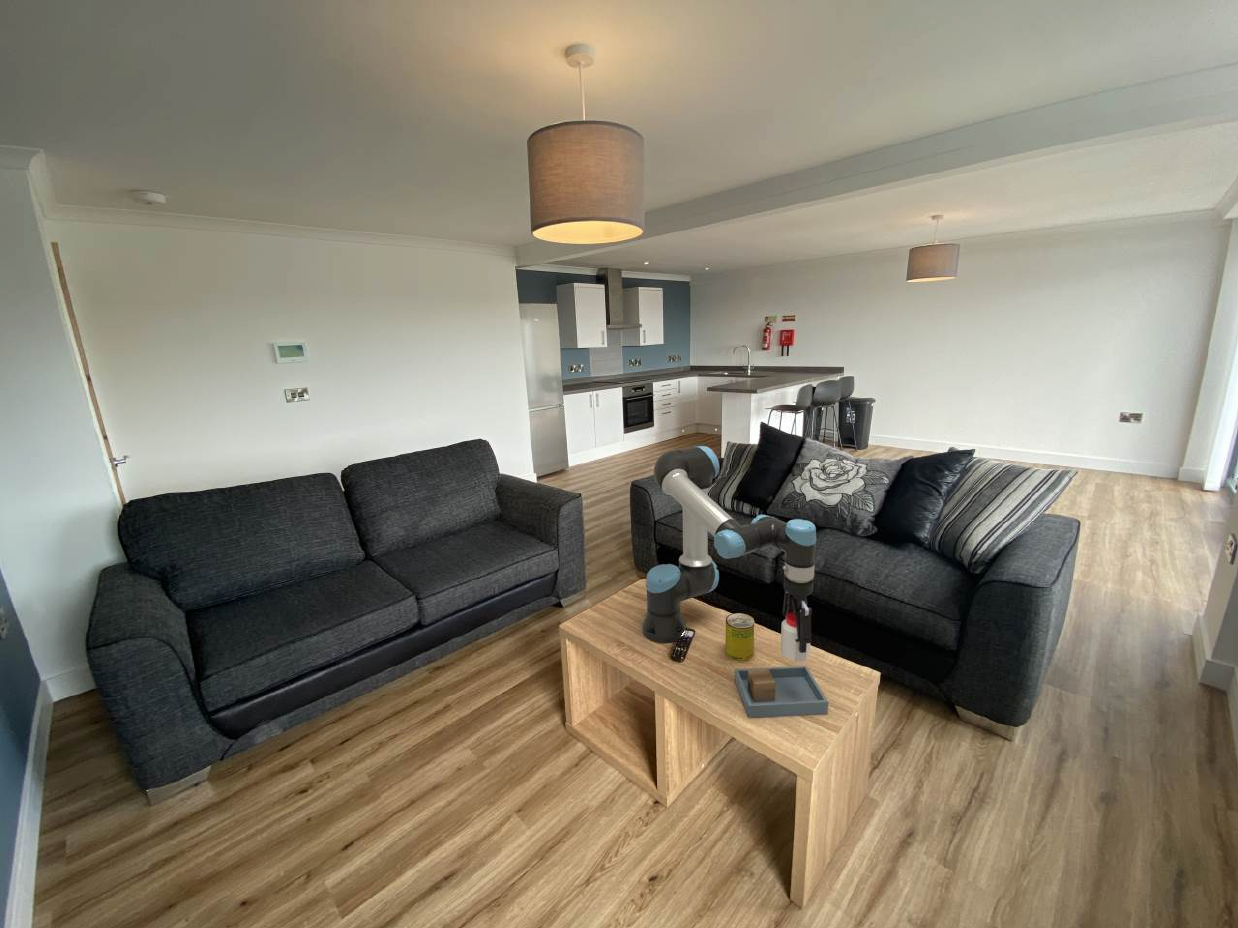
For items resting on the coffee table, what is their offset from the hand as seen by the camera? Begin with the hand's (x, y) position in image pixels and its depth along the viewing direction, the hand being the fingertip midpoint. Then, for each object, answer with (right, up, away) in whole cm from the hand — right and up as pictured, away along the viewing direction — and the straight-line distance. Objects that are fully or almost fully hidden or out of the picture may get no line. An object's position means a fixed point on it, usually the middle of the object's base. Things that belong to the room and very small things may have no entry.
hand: (794, 651), depth 142 cm
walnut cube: (-9, -14, +3) cm, 16 cm away
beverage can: (-10, -10, +24) cm, 28 cm away
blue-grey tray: (-3, -14, +4) cm, 15 cm away
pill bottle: (0, 0, 0) cm, 0 cm away
